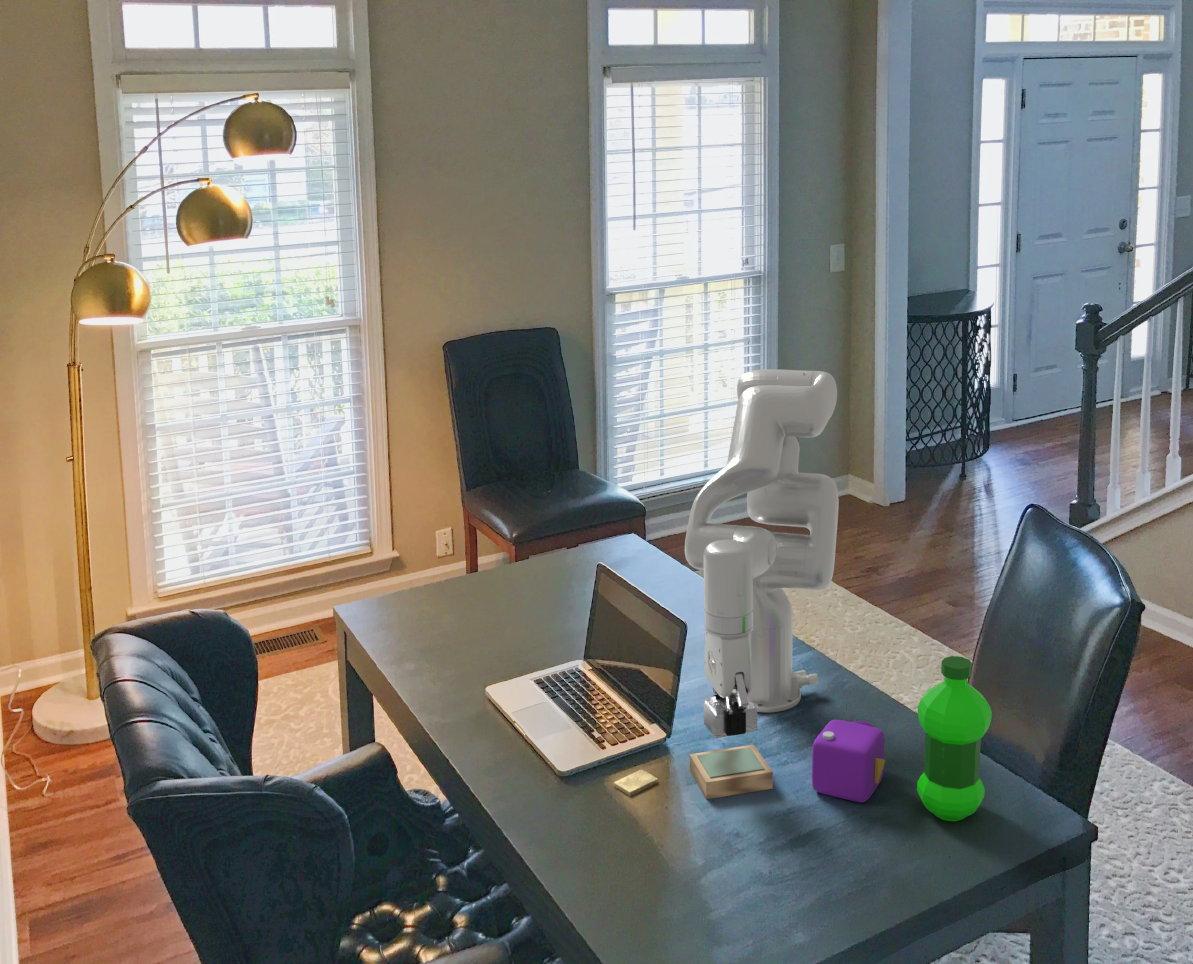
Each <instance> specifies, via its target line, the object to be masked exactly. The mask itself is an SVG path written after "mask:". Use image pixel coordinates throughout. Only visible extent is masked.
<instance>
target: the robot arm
mask: <svg viewBox="0 0 1193 964" xmlns="http://www.w3.org/2000/svg"><path fill="white" fill-rule="evenodd" d="M836 383H837V382H836V380H835V378H834V377H833V375H832V374H831V373H829V372H826V371H822V370H803V369H802V370H800V369H798V370H797V369H796V370H795V369H778V368H777V369H776V368H775V369H774V368H773V369H771V368H768V369H767V368H766V369H765V368H764V369H754V370H749V371H747V372H744V373H743V374H741V375H740V376H739V377H738V380H737V384H736V394H737V399H738V401H737V406H736V410H735V411H736V412H735V417H734V422H733V429H732V433H731V439H730V444H729V445H730V446H729V451H728V456H727V462H726V465H725V466H724V467H723V468H721V469H720V470H719V471H718V472H717V473H715V474H714V475H713V476H711V478H709V479H708V481H707V482H706V483H705V484H704V485H703V486H702V488H701V489H700V490H699V491H698V493H697V495H696V496H695V498H694V500H693V503H692V505H691V508H690V513H689V517H688V521H687V522H688V523H687V528H686V532H685V533H686V534H685V538H684V539H685V540H684V555H685V559H686V561H687V563H688V565H689V566H691V567H692V568H694V569H696V570H698V571H699V570H700V571H703V599H704V600H703V605H704V606H703V607H704V610H703V613H704V614H703V615H704V617H703V618H704V625H703V626H704V631H705V637H704V638H705V639H704V658H703V659H704V661H703V663H704V665H703V672H704V676H705V678H706V679H707V681H708V682H709V684H710V685H711V687H712V692H713V696H714V697H715V698H716V699H721V698H726V701H727V711H728V712H725V733H726V735H727V736H726V737H732V736H738V735H740V736H741V735H744V734H746V706H747V705H748V699H749V700H750V701H751V702H752V703H753V704H754V705H755V706H756V707H757V713H766V714H767V713H779V712H783V711H787V710H790V709H792V708H793V707H795V706H797V705H798V704H799V703H800V701H801V699H802V691H801V689H802V688H803V686H812V685H813V686H814V685H818V684H819V677H818V674H817V673H810V674H807V672H806V671H807V670H805V669H803V670H797V671H793V634H794V633H793V629H794V628H793V626H794V625H793V620H794V619H793V617H794V614H793V613H794V611H793V606H792V603H791V600H790V599H789V596H788V595H787V594H786V592H785V590H784V589H795V590H797V589H798V590H807V591H821V590H824V589H827V587H829V586H830V585H831V582H832V580H833V575H834V571H835V561H836V560H835V559H836V548H837V534H838V533H837V532H838V520H839V519H838V518H839V504H840V503H839V501H840V499H839V490H838V487H837V484H836V482H835V480H834V479H833V478H832V477H831V476H828V475H826V474H823V473H813V472H812V473H811V472H810V473H809V472H799V463H800V461H799V460H800V452H801V449H800V443H799V441H798V439H797V438H815V437H818V436H820V435H821V434H822V433H823V431H824V429H825V428H826V426H827V424H828V422H829V421H830V419H831V417H832V416H833V413H834V411H835V408H836V405H837V400H838V386H837V384H836ZM745 494H747V495H746V511H747V515H748V517H749V518H750V519H751V520H752V521H754V522H756V523H758V524H763V525H770V526H771V525H772V526H781V527H782V526H785V527H794V528H795V527H797V528H806V529H808V530H809V532H810V533H809V534H802V533H801V534H800V533H787V532H778V531H777V532H775V531H770V530H769V529H766V528H764V527H759V526H750V525H737V524H721V523H710V521H711V518H712V516H713V515H714V514H715V511H717V509H718V508H720V506H722V505H723V504H725V503H726V502H728V501H730V500H732V499H735V498H736V497H740V496H742V495H745ZM713 696H712V697H713ZM734 697H737V702H734V703H733V705H732V698H734ZM747 697H748V698H747Z"/></svg>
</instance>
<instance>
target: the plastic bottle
mask: <svg viewBox="0 0 1193 964" xmlns="http://www.w3.org/2000/svg"><path fill="white" fill-rule="evenodd" d="M940 667H941V670H940V673H941V675H942V676H943V677H944V681H941V682H940V683H938V684H936V685H934V686H933V687H931V688H930V689H928V690H927V691H926V692H925V694H924V695H923V696H922V697H921V699H920V701H919V703H918V705H917V717H918V722H919V724H920V726H921V727H922V730H923V731H924V732H925V744H924V745H925V746H924V766H923V767H924V768H923V772H922V774H921V775H920V776H919V778H918V780H917V782H916V791H917V793H918V797H919V798H920V800H921V802H922V803H923V806H924V807H925V809H926V810H928V811H929V812H930V813H932V814H933V815H934V816H935V817H937V818H938V819H941V820H943V821H948V822H949V821H950V822H957V821H962V820H965V818H967V817H969V816H972V815H973V814H975V812H977V810H978V808H980V807H979V806H980V805H981V804H982V801H983V800H984V798H985V793H986V789H985V787H984V784H983V781H982V780H981V778H980V763H981V762H980V761H981V746H982V738H983V737H984V736H985V734H986V733H987V731H988V730H989V728H990V725H991V721H992V715H993V714H992V709H991V706H990V704H989V702H988V701H987V700H986V698H985V697H984V695H983V694H982V693H981V692H980V691H978V690H977V689H976V688H975V687H973V685H971V684H969V683H968V679H969V678H970V677H971V676H972V675H973V673H972V672H973V669H972V668H973V663H972V661H971V660H970V659H968V658H966V657H964V656H957V655H956V656H955V655H951V656H950V655H949V656H946V657H944V658H943V659H942V660H941V666H940Z"/></svg>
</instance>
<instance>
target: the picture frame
mask: <svg viewBox="0 0 1193 964" xmlns="http://www.w3.org/2000/svg"><path fill="white" fill-rule="evenodd" d="M689 772H690V773H691V775H692V777H693V779H694V780H695V782H696V783H697V786H698V787H699V789H700V791H701V792H702V794H703V796H704V798H705V799H706V800H710V799H711V800H712V799H716V798H723V797H728V796H735V795H742V794H746V793H754V792H760V791H767V790H770V789H771V790H773V789H774V787H773V783H774V782H773V780H774V779H773V778H774V774H773V773H774V772H773V770H772V768H771V767H770V766H769V764H768V763H767V761H766V760H765V759H764V757H763V756H762V754H761V753H760V752H759V750H758V748H757V747H756V746H755V745H754V744H747V745H741V746H740V745H739V746H736V747H735V746H734V747H729V748H728V747H727V748H723V749H722V748H721V749H717V750H709V751H708V750H707V751H704V752H703V751H702V752H696V753H690V754H689Z"/></svg>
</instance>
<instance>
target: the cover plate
mask: <svg viewBox="0 0 1193 964" xmlns="http://www.w3.org/2000/svg"><path fill="white" fill-rule="evenodd" d="M658 783H659V778H657V777H656V776H654V775H652V774H650V773H649V772H648V771H645V770H643V768H642V769H639V770H637V771H635V772H632V773H631V774H629V775H627V776H624V777H622V778H620V779H618V780H616V781H614V782H613V787H614V788H616V789H617V790H618V791H621V792H622V793H624V794H625V795H627V796H629V797H631V796H633V795H635V794H637V793H639V792H642V791H644V790H646V789H647V788H650V787H652V786H654V785H655V784H658Z"/></svg>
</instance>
